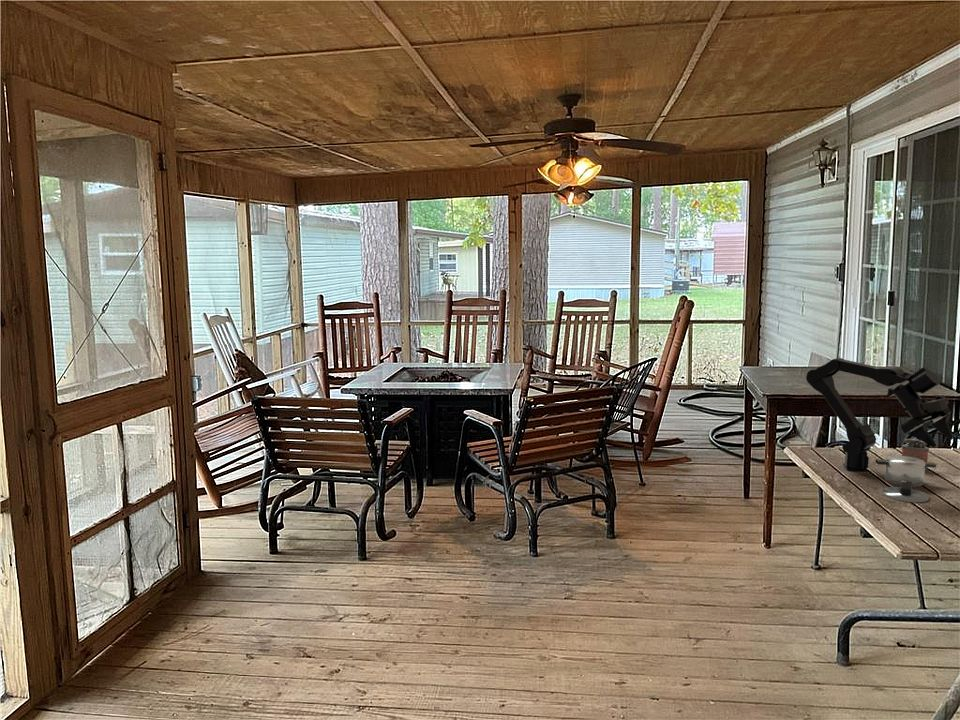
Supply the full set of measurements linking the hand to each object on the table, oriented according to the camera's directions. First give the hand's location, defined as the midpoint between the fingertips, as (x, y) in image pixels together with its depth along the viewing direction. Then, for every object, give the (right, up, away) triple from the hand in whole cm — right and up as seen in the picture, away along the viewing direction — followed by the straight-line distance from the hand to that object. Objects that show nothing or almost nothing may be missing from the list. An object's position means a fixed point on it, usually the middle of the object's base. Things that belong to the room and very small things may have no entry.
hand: (943, 442), depth 219 cm
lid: (-14, -16, -3) cm, 22 cm away
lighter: (+6, -12, +24) cm, 28 cm away
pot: (-6, -14, +10) cm, 18 cm away
